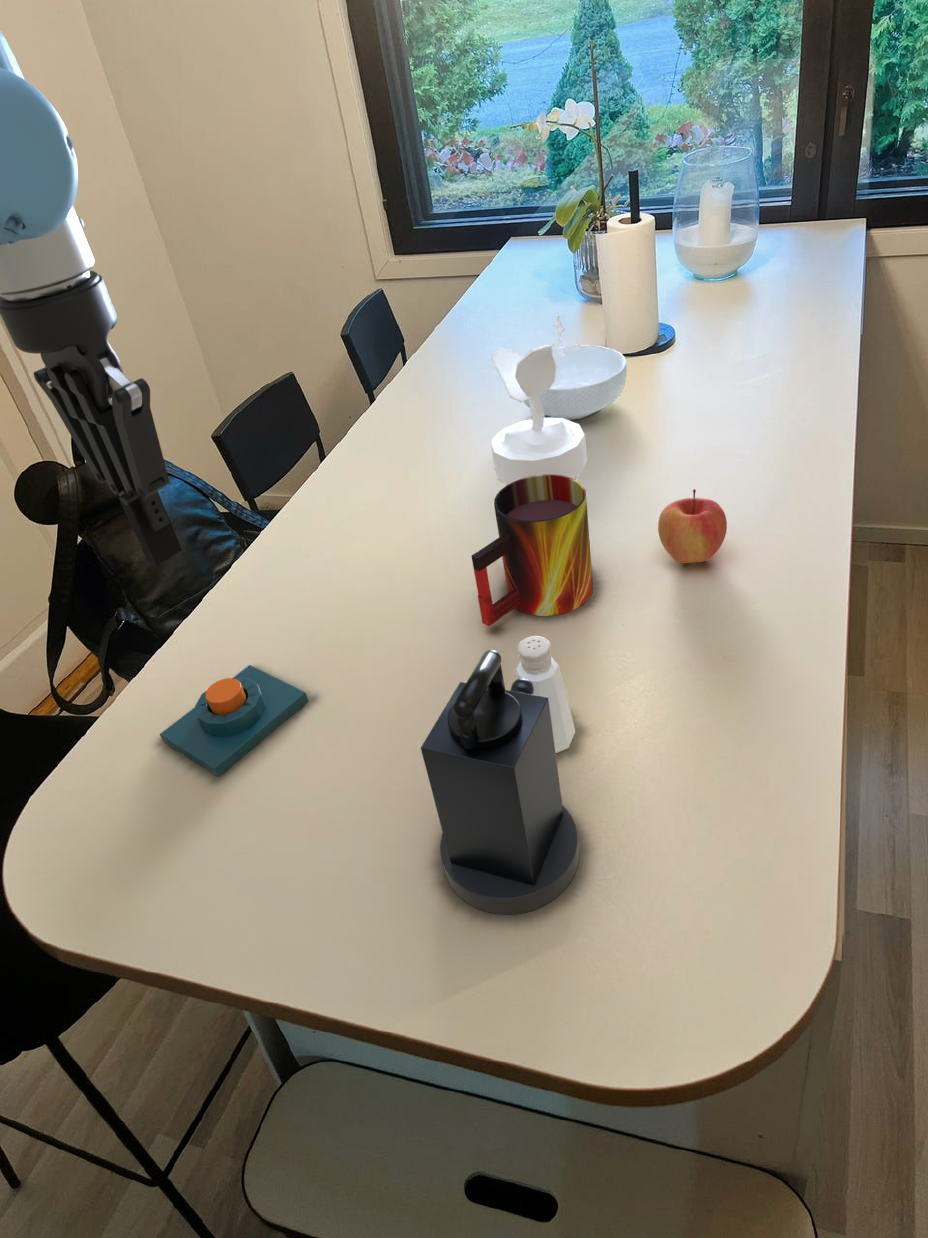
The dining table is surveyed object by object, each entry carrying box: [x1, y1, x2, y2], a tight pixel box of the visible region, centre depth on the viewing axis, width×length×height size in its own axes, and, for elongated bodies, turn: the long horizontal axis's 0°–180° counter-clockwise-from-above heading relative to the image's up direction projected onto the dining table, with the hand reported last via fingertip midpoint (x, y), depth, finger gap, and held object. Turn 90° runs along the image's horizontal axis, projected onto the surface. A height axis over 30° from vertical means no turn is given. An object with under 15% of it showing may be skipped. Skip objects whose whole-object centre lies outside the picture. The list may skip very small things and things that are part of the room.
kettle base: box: [439, 804, 580, 915], centre depth 70 cm, size 11×11×2 cm
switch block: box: [159, 664, 309, 778], centre depth 88 cm, size 12×9×3 cm
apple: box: [657, 488, 728, 564], centre depth 96 cm, size 7×7×8 cm
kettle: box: [420, 649, 563, 885], centre depth 65 cm, size 11×7×17 cm, turn 157°
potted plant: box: [490, 313, 588, 486], centre depth 106 cm, size 13×12×25 cm
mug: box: [471, 475, 594, 628], centre depth 93 cm, size 10×14×12 cm
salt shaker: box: [515, 635, 577, 754], centre depth 77 cm, size 5×5×11 cm
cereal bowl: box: [523, 344, 628, 421], centre depth 132 cm, size 17×17×7 cm
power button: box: [205, 677, 246, 715], centre depth 87 cm, size 4×4×2 cm
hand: (164, 555), depth 76 cm, fingers closed
